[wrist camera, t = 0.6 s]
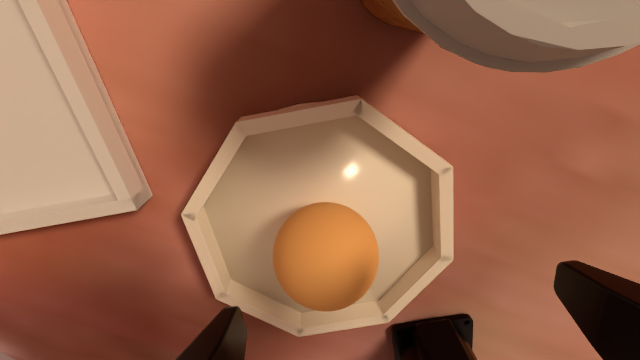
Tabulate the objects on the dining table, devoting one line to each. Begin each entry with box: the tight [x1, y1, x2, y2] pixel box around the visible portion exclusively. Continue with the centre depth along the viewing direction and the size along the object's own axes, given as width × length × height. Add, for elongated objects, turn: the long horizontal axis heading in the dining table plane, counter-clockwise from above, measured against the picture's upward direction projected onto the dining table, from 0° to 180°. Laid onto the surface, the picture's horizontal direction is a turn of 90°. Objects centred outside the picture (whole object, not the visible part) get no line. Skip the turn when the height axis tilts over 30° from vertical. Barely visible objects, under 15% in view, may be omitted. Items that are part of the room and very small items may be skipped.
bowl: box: [181, 95, 453, 337], centre depth 20 cm, size 16×16×2 cm
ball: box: [273, 202, 379, 312], centre depth 17 cm, size 6×6×6 cm
